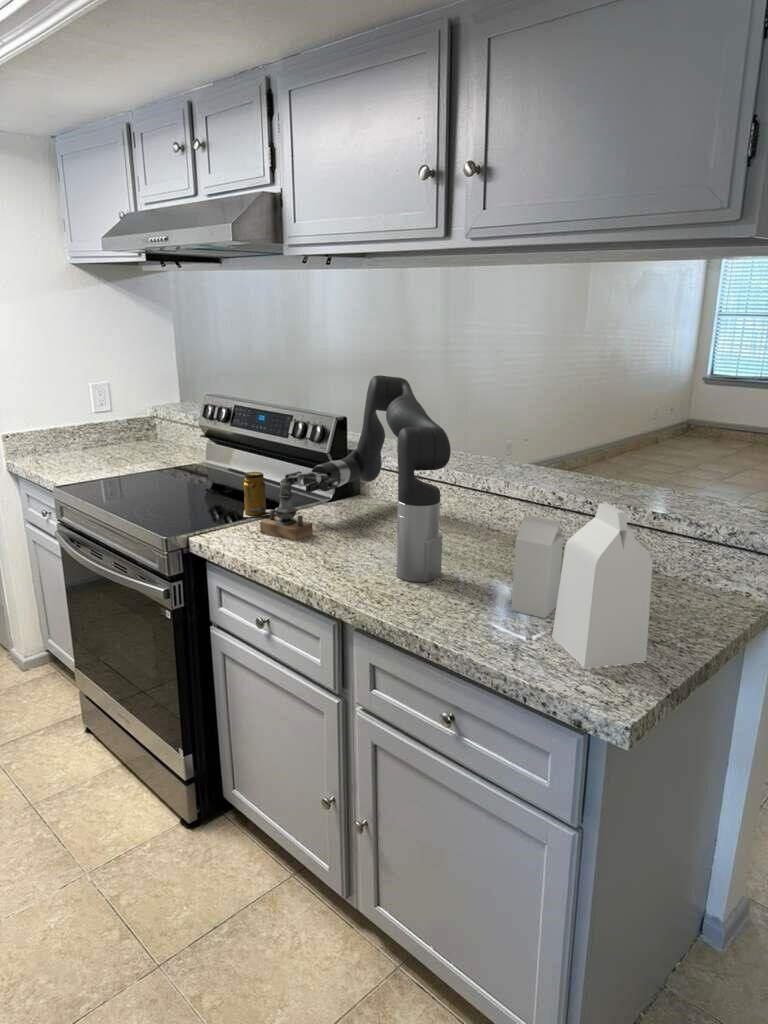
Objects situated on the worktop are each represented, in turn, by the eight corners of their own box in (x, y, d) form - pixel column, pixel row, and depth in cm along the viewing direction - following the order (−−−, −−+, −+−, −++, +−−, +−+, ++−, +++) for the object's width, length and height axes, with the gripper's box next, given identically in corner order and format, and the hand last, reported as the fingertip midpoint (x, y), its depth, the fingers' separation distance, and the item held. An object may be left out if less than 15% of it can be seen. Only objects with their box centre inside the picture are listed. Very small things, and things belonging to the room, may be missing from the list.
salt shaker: (286, 526, 185) (285, 481, 182) (270, 522, 188) (268, 478, 185) (302, 521, 190) (301, 477, 186) (286, 517, 193) (285, 474, 190)
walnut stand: (312, 534, 189) (312, 514, 188) (295, 540, 184) (295, 520, 182) (277, 526, 196) (277, 507, 194) (260, 532, 190) (259, 512, 188)
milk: (551, 638, 131) (563, 500, 124) (609, 633, 133) (623, 497, 126) (584, 669, 119) (599, 519, 112) (645, 663, 122) (664, 516, 115)
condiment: (243, 511, 210) (242, 471, 207) (273, 510, 212) (272, 470, 209) (243, 517, 204) (241, 476, 200) (273, 517, 205) (272, 475, 202)
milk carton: (545, 619, 139) (553, 525, 134) (510, 611, 142) (517, 519, 137) (557, 607, 145) (565, 516, 140) (524, 599, 148) (530, 510, 143)
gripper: (310, 458, 205) (273, 468, 192) (351, 465, 198) (315, 476, 185) (311, 484, 208) (273, 496, 194) (351, 491, 200) (315, 504, 187)
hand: (294, 486), depth 190 cm, fingers open, 8 cm apart
